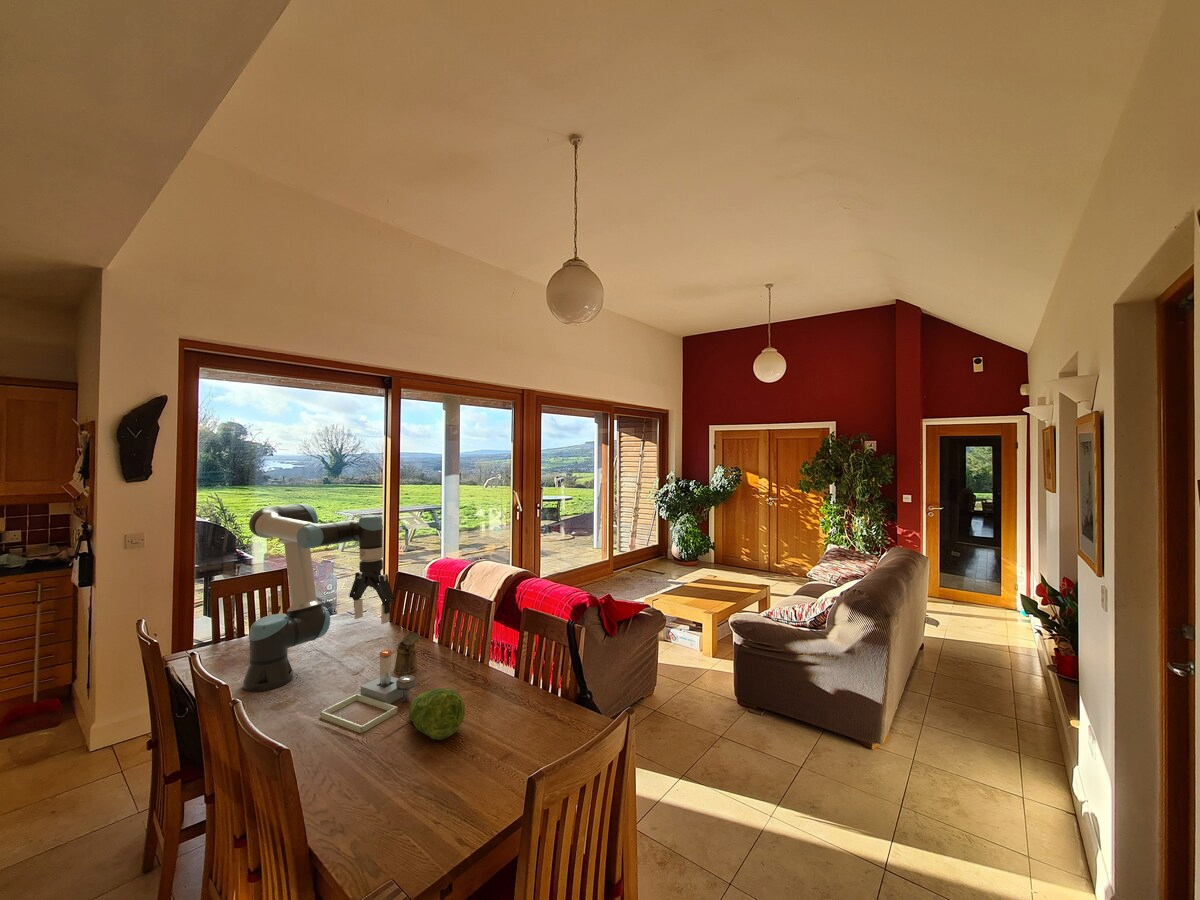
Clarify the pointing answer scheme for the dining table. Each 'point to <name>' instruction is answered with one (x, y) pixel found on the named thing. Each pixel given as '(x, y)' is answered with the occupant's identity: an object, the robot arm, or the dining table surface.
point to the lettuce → (437, 713)
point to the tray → (353, 726)
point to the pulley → (406, 685)
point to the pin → (385, 668)
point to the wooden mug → (407, 655)
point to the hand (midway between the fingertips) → (371, 620)
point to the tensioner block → (382, 691)
